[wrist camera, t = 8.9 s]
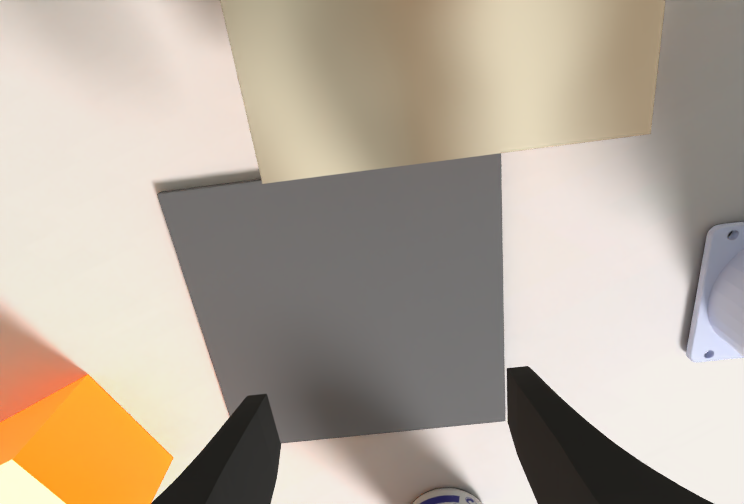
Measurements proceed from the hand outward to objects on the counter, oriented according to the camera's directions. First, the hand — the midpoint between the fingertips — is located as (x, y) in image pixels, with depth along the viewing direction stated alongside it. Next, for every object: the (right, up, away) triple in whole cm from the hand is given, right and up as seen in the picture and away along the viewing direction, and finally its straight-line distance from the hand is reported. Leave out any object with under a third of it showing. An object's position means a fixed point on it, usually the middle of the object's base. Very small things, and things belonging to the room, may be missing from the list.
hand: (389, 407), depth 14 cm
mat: (-2, +1, +11) cm, 11 cm away
